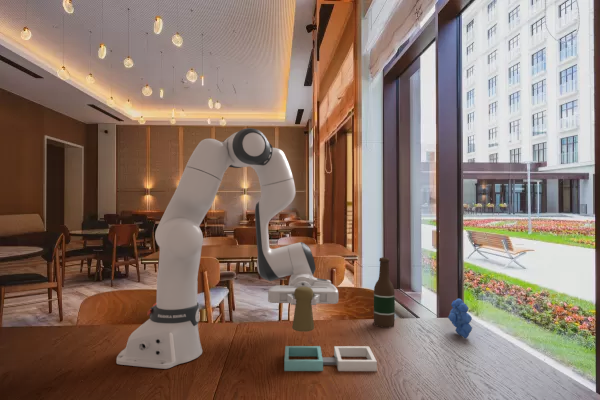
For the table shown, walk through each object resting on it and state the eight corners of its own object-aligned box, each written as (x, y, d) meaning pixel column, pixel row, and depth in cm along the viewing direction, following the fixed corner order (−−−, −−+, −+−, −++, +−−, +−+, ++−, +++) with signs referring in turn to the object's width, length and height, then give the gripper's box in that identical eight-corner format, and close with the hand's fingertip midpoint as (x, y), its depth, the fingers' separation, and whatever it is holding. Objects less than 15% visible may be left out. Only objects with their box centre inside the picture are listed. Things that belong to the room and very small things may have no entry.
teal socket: (284, 370, 94) (284, 361, 94) (285, 354, 104) (285, 346, 104) (322, 371, 94) (323, 361, 94) (320, 355, 104) (320, 346, 104)
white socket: (322, 371, 94) (323, 361, 94) (320, 355, 104) (320, 346, 104) (376, 371, 94) (376, 361, 94) (368, 355, 104) (368, 346, 104)
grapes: (440, 329, 126) (440, 295, 127) (459, 329, 127) (459, 295, 127) (456, 342, 115) (456, 304, 115) (477, 342, 115) (477, 304, 115)
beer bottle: (397, 323, 133) (398, 257, 133) (391, 329, 126) (391, 260, 126) (377, 319, 137) (377, 255, 137) (369, 325, 130) (370, 258, 130)
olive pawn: (312, 332, 96) (313, 290, 96) (289, 330, 97) (290, 289, 97) (315, 324, 101) (316, 285, 102) (294, 323, 103) (295, 284, 103)
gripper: (269, 279, 112) (265, 289, 98) (335, 280, 112) (341, 290, 98) (268, 299, 112) (265, 313, 98) (335, 300, 112) (340, 314, 98)
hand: (303, 301), depth 98 cm, fingers closed on olive pawn, 4 cm apart
